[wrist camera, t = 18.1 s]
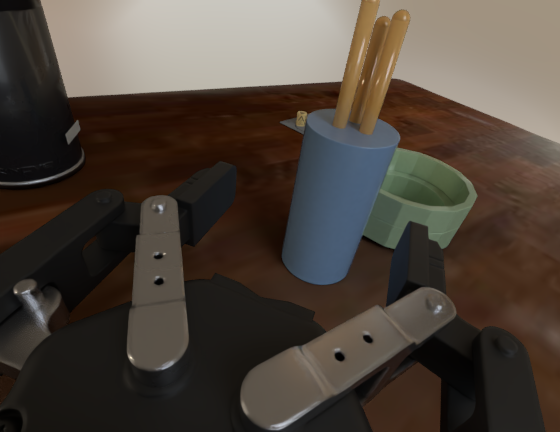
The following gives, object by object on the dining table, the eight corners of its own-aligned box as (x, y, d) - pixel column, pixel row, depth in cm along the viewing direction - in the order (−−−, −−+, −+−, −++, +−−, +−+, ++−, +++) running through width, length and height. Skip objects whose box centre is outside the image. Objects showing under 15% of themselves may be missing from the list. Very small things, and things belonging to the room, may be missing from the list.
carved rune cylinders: (336, 128, 51) (339, 117, 50) (317, 135, 48) (320, 123, 47) (313, 117, 54) (315, 106, 53) (293, 123, 51) (295, 111, 50)
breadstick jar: (269, 244, 28) (308, -20, 17) (323, 228, 31) (390, -8, 19) (305, 294, 24) (390, -3, 13) (364, 271, 27) (477, 9, 15)
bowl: (319, 199, 35) (330, 154, 31) (392, 182, 40) (408, 141, 37) (394, 272, 27) (419, 224, 24) (471, 239, 33) (501, 195, 29)
